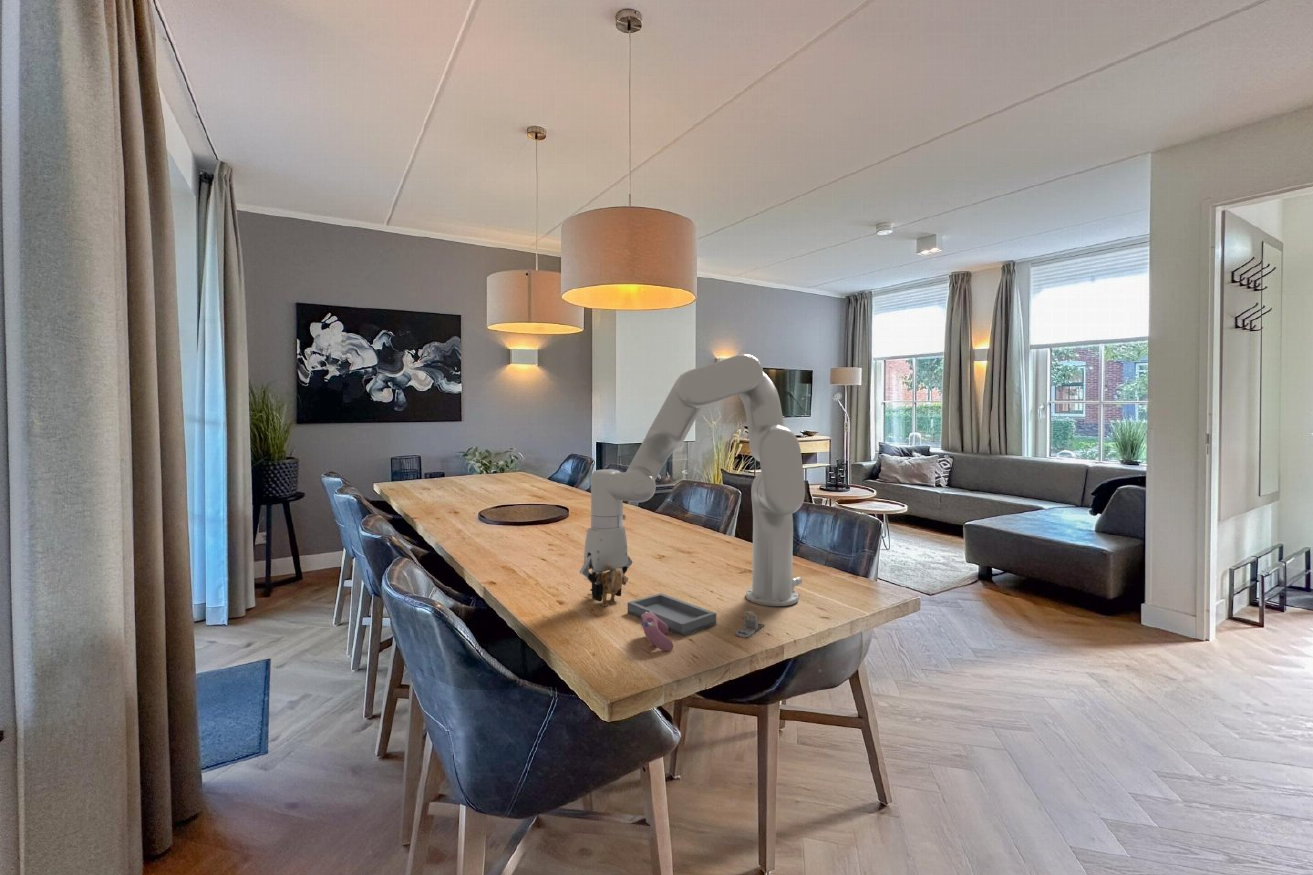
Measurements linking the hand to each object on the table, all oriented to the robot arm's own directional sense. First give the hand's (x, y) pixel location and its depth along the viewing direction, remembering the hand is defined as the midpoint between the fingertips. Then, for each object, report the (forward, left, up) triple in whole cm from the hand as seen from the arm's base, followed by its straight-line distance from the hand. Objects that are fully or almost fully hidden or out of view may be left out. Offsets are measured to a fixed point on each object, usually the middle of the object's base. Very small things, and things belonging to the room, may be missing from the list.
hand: (606, 596), depth 140 cm
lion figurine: (-1, -1, -2) cm, 2 cm away
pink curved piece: (+7, +26, -2) cm, 27 cm away
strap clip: (-12, +34, -2) cm, 36 cm away
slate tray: (-4, +18, -1) cm, 19 cm away
